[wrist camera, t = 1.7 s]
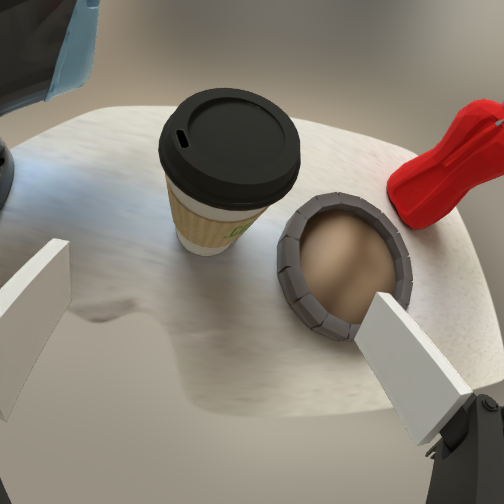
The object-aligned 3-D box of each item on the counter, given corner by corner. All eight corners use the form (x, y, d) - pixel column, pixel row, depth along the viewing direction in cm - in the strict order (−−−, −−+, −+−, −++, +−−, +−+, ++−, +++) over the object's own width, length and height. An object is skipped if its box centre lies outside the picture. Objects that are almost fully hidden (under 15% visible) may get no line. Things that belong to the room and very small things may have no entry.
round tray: (251, 299, 30) (259, 294, 28) (306, 179, 38) (314, 168, 35) (381, 362, 32) (394, 361, 29) (408, 244, 39) (419, 237, 37)
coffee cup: (265, 257, 32) (335, 178, 19) (175, 286, 29) (185, 214, 15) (231, 179, 35) (272, 79, 21) (147, 200, 31) (145, 92, 18)
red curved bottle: (368, 183, 41) (487, 63, 18) (410, 173, 45) (511, 79, 22) (399, 241, 39) (543, 140, 16) (437, 222, 43) (553, 140, 20)
